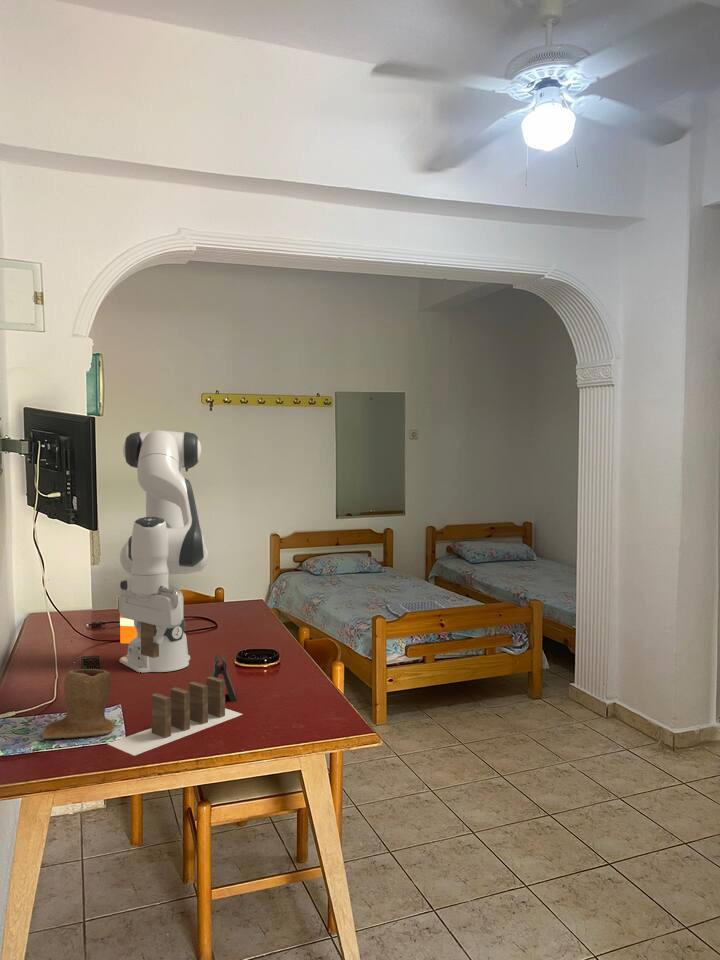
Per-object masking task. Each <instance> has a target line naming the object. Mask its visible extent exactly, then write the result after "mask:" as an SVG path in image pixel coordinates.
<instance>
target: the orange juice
mask: <svg viewBox="0 0 720 960" xmlns="http://www.w3.org/2000/svg"><path fill="white" fill-rule="evenodd" d="M119 625H120V629H119V630H120V631H119V632H120V633H119V635H120V639H119V640H120V644H128V645H129V643H130V641H131V640H133V639H134V638H135V637H136V636H137V631H136V628H135V626H134V620H131V619H126V618H122V617H121V615H120V614H119Z"/></svg>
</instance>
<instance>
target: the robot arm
mask: <svg viewBox="0 0 720 960" xmlns="http://www.w3.org/2000/svg"><path fill="white" fill-rule="evenodd" d="M122 446H123V448H122V452H123V456H124V459H125V462H126V464H128V466H129V467H132V468H135V469H136V468H137V471H136V472H137V481H138V484H139V486H140V487H141V488H142V490H143V491H145V517H140V518H138V519H136V520H135V521H134V522H133V525H132V533H131V536H130V537H129V538H128V539H127V540H128V541H127V542H125V544H123V546H122V548H121V550H120V554H119V561H120V565H121V567H122V569H123V570H124V571H125V572H126V573H127V574H129V575H130V577H127V578H125V579H122V580H119V581H118V585H117V587H118V589H119V590H120V591H119V593H118V612H119V616H120V615H121V617H122V618H126V619H131V620H134V626H135V628H136V631H137V636H136V637H135V638H134V639H133V640H131V641H130V643H129V644H128V646H127V655H123V656H122V657H120V658H119V663H121V664H123V665H124V666H126V667H127V668H128V667H129V668H130V669H132V670H134V671H136V672H137V673H140V672H141V673H142V674H143V673H163V672H164V673H165V672H173V671H178V670H181V669H182V670H183V669H185V668H186V667H189V665H190V660H191V655H190V654H189V651H188V640H187V635H186V633H185V630H186V619H185V618H184V595H183V592H182V591H181V590H180V589H179V588H178V587H175V586H174V585H172V584H169V583H170V582H169V579H170V578H169V576H170V575H188V574H193V573H198V572H201V571H202V570H203V569H204V568H205V567H206V565H207V563H208V560H209V550H208V548H207V545H206V542H205V537H204V534H203V533H202V530H201V525H200V520H199V515H198V511H197V510H198V509H197V504H196V499H195V495H194V490H193V487H192V484H191V482H190V480H189V479H188V478H185V476H183V471H182V468H184V469H185V472H186V473H187V472H188V471H189V469H191V468H194V467H195V466H196V465H197V464H198V463H199V460H200V458H201V455H202V445H201V442H200V440H199V436H197V434H196V433H193V432H188V431H184V432H182V431H181V432H180V431H174V430H173V431H172V430H162V429H161V430H159V429H158V430H156V429H155V430H153V431H146V432H141V431H137V432H133V433H132V432H131V433H130V434H129V435H127V436H126V438H125V441H124V443H123V445H122ZM141 622H144V623H148V624H152V625H156V630H157V633H156V635H155V636H153V639H154V640H153V642H154V643H157V644H159V657H156V658H152V657H148V656H145V655H141Z"/></svg>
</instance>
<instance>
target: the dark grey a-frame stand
mask: <svg viewBox="0 0 720 960" xmlns="http://www.w3.org/2000/svg"><path fill="white" fill-rule="evenodd" d="M220 659H221V662H222V663H221V664H218V663H219V662H220V660H219V655H218V654H216V655H215V656H214V657H213V666H212V669H211V673H210V676H213V677H216V678H219V675H223V680H225V688H226V691H227V694H228V698H229V701H230V703H231V702H233V703H234V702H237V701H238V699H237V696H236V693H235V690H234V688H233V687H234V686H233V685H232V682H231V679H230V676H229V674H228V671H227V662H226V659H225V656H224V655H223V654H220ZM210 676H209V677H210Z"/></svg>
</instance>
